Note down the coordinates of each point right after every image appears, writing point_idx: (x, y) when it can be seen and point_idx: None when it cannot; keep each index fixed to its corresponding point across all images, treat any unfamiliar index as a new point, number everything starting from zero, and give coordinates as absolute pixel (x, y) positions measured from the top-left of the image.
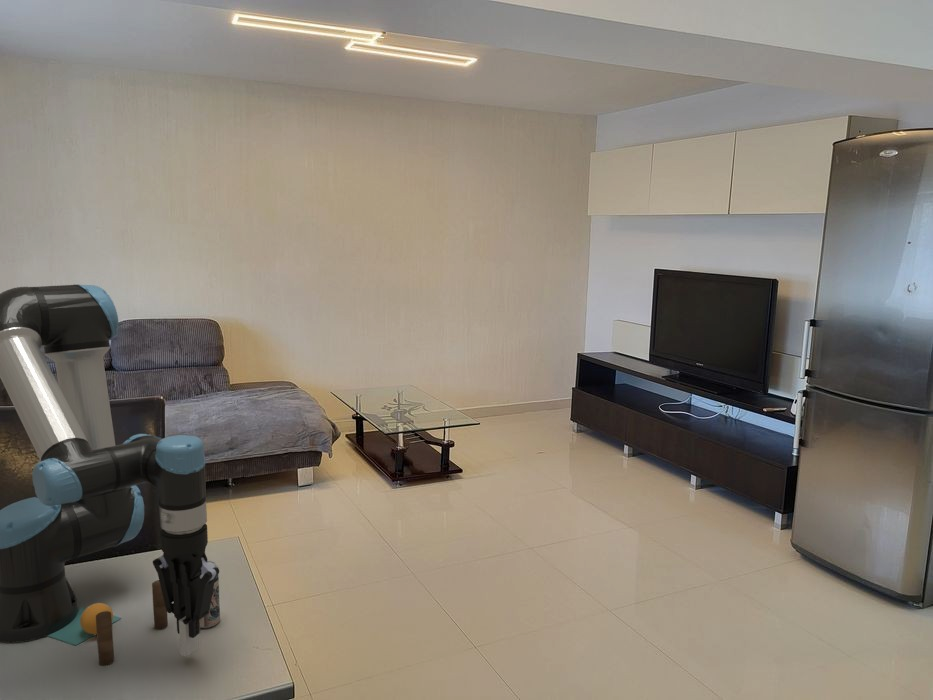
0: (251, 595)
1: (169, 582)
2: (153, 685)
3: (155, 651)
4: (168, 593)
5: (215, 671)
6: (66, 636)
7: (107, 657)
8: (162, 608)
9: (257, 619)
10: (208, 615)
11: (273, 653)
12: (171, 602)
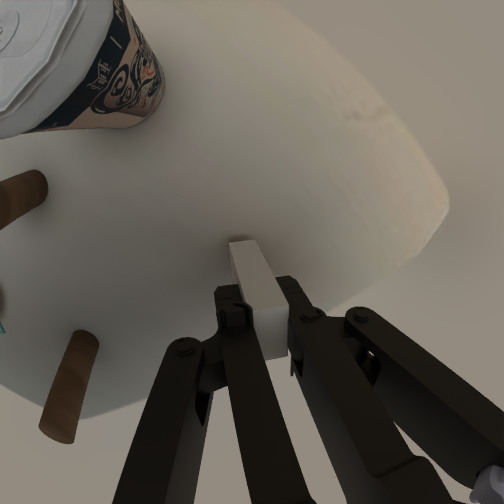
0: None
1: (183, 497)
2: None
3: (123, 269)
4: (200, 459)
5: (328, 243)
6: None
7: (94, 359)
8: (12, 210)
9: (257, 3)
10: (148, 104)
11: (401, 125)
12: (207, 414)
